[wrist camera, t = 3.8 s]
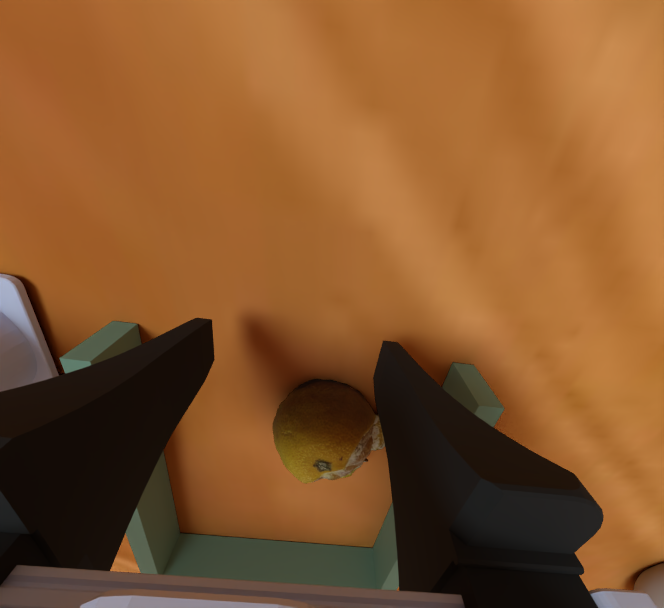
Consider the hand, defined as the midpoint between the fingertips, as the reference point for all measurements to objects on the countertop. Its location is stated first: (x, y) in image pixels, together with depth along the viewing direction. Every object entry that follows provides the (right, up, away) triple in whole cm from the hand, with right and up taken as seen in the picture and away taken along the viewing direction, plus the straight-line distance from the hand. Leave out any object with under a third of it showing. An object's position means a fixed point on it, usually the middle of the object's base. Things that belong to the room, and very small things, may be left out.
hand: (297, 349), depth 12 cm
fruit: (+2, -6, +6) cm, 9 cm away
